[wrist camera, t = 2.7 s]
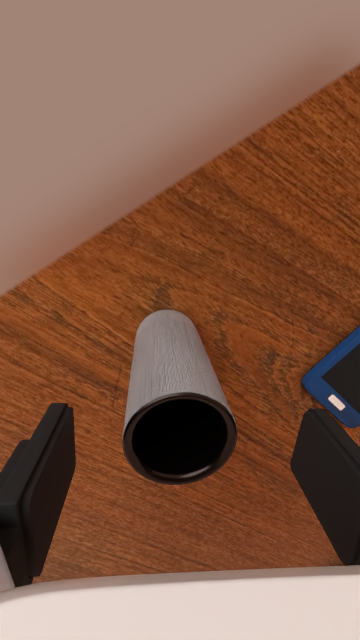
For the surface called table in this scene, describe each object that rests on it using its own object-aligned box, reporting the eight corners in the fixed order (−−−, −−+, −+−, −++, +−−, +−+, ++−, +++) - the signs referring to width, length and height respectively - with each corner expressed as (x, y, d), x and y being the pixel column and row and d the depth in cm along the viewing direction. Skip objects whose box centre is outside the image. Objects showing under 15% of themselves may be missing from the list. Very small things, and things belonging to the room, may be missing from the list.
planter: (128, 315, 20) (107, 407, 10) (192, 303, 20) (231, 381, 10) (143, 371, 21) (136, 497, 11) (201, 358, 21) (243, 473, 12)
